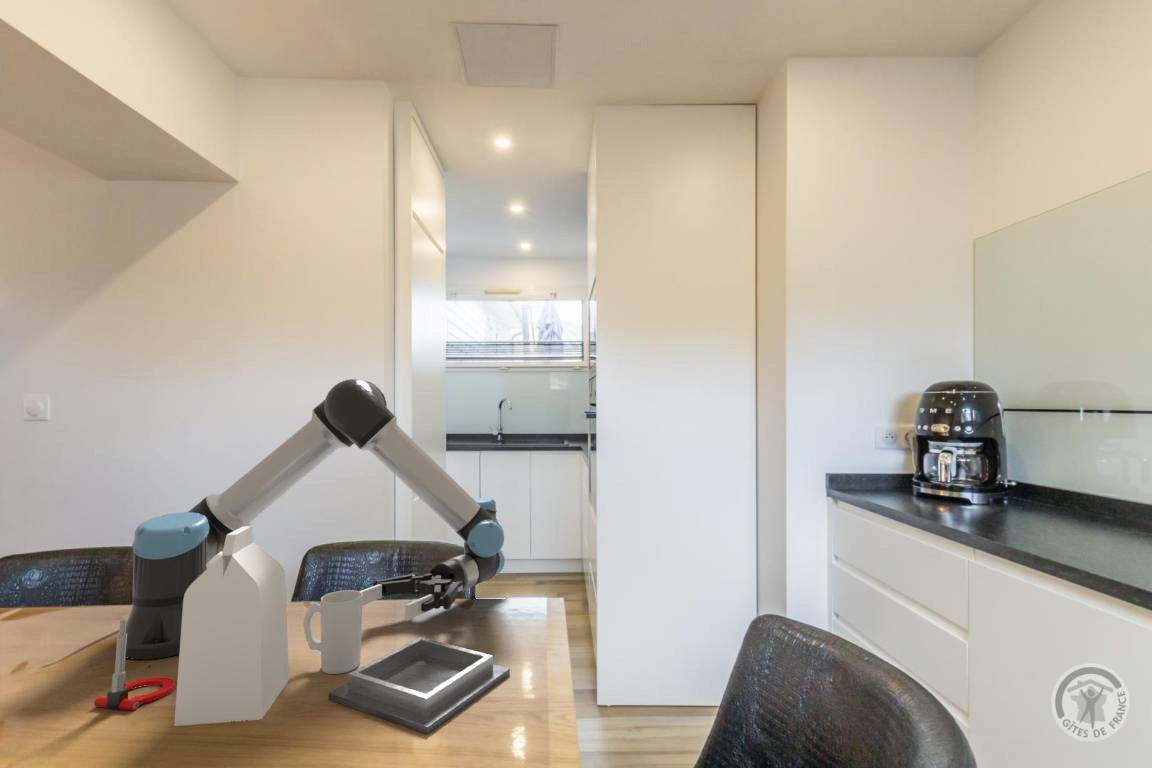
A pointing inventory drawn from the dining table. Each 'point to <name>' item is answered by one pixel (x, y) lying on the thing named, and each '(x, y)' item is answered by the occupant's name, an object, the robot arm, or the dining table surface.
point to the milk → (233, 636)
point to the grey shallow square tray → (420, 683)
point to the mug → (337, 630)
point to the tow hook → (120, 690)
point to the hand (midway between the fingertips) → (380, 606)
